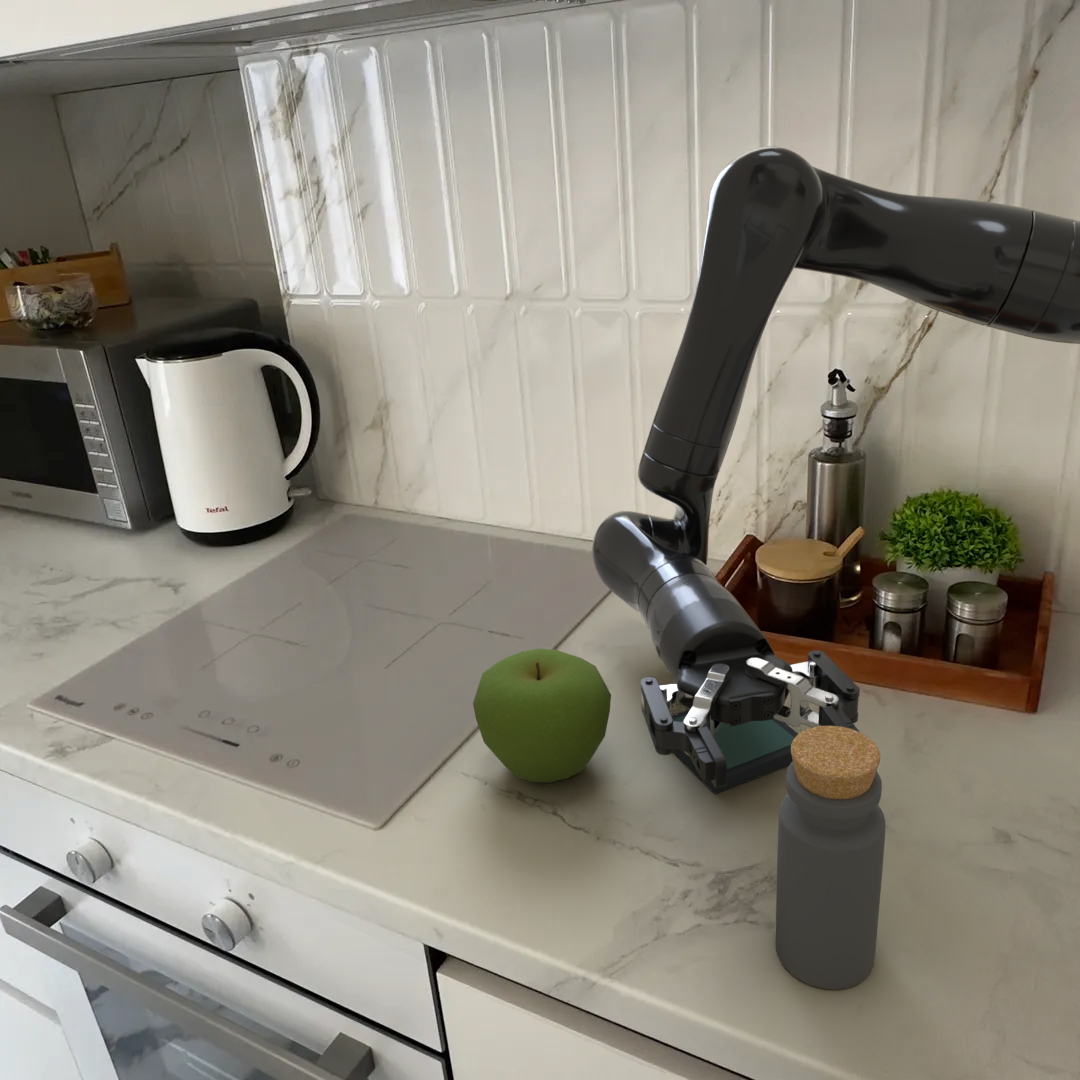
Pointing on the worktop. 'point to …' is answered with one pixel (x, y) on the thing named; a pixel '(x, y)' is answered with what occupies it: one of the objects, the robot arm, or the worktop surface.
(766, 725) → the teal square coaster
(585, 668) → the apple
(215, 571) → the worktop surface
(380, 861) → the worktop surface
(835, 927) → the bottle
